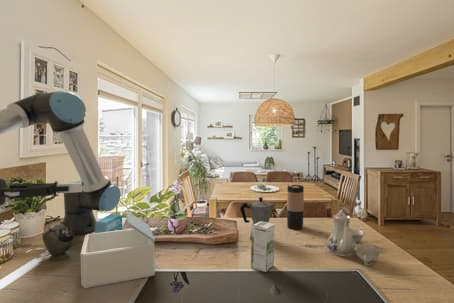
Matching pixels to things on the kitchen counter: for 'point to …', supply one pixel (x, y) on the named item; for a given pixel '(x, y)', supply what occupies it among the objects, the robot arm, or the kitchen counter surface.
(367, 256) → the chinaware
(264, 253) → the syrup box
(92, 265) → the carton
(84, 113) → the robot arm
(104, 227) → the data package
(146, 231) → the carton flap
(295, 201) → the travel mug
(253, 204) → the coffeepot
